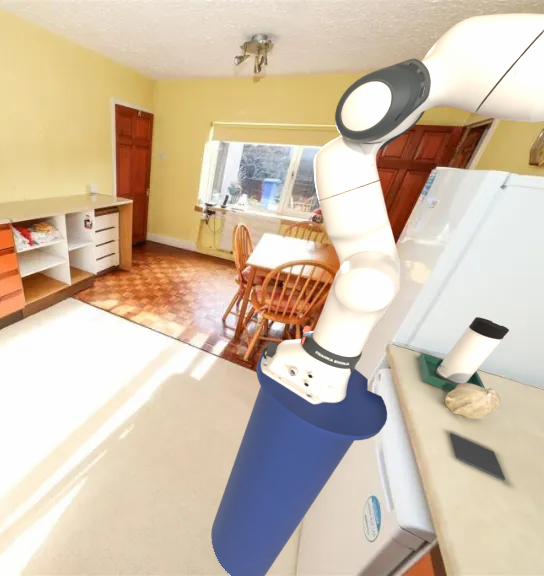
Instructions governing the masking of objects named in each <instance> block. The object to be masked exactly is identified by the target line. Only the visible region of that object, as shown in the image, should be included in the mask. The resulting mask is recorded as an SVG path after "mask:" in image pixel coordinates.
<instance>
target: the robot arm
mask: <svg viewBox="0 0 544 576" xmlns="http://www.w3.org/2000/svg"><path fill="white" fill-rule="evenodd" d="M439 107H440V108H442V107H443V108H444V107H446V108H451V109H452V108H453V109H457V110H461V111H464V112H468V113H472V114H474V115H475V114H476V115H478V116H483V117H486V118H491V119H495V120H496V119H497V120H502V121H511V122H523V123H539V122H544V13H531V12H530V13H529V12H515V13H513V12H512V13H511V12H510V13H509V12H508V13H493V14H492V13H491V14H483V15H482V14H481V15H473V16H470V17H467V18H465V19H463V20H461V21H459V22H457V23H456V24H454V25H453V26H452V27H450V28H449V29H448V30H447V31H446V32H444V33H443V34H442V35H441V36H440V37H439V38H438V39H437V40H436V41H435V43H433V45H432V46H431V48H430V49H429V50H428V52H427V53H426V54H425V56H424V57H423V59H422V60H419V58H418V59H417V58H410V59H407V60H403V61H401V62H398V63H395V64H392V65H389V66H385V67H382V68H379V69H377V70H373V71H371V72H369V73H367V74H365V75H363V76H361V77H360V78H358V79H357V80H355V81H354V82H352V84H351V85H350V86H349V87H347V89H346V90H345V91H344V92H343V94H342V95H341V97H340V99H339V101H338V103H337V105H336V108H335V113H334V123H335V128H336V129H337V131H338V133H339V134H340V135H338V136H337V137H336V138H334V139H332V140H330V141H329V142H327V143H326V144H324V145H323V146H322V147H321V148H320V149H319V150H318V151H317V152H316V154H315V157H314V159H313V173H314V184H315V191H316V195H317V199H318V203H319V207H320V211H321V215H322V220H323V223H324V227H325V231H326V233H327V234H326V235H327V236H328V238H329V239H330V242H331V243H332V245H333V248H334V250H335V252H336V253H335V254H336V255H337V259H338V261H339V269H338V270H337V272H336V274H335V276H334V278H333V281H332V283H331V285H330V289H329V291H328V294H327V297H326V299H325V302H324V305H323V308H322V310H321V313H320V315H319V318H318V320H317V323H316V325H315V327H314V329H312V327H311V326H310V325H305V326H304V327H303V329H302V333H303V334H302V337H301V338H297V339H285V340H283V341H281V342H280V343H279V344H278V343H276V342H272V341H269V342H268V345H267V346H266V347H264V348H263V349H262V353H261V354H263V358H262V360H261V370H262V372H263V373H264V374H266V375H267V376H269V377H270V378H272V379H274V380H275V381H277V382H278V383H280V384H282V385H283V386H285V387H286V388H288V389H289V390H291V391H293V392H294V393H296V394H297V395H299V396H300V397H302V398H304V399H305V400H307V401H308V402H310V403H312V404H319V403H322V402H329V403H335V402H340V401H342V400H343V399H344V398H345V397H346V390H347V384H348V380H349V377H350V374H351V372H353V370H354V369H356V368H357V366H358V365H359V363H360V361H361V358H362V355H363V354H362V353H363V350H364V347H365V346H366V344H367V343H368V340H369V338H370V337H371V334H372V333H373V331H374V330H375V328H376V326H377V325H378V323H379V322H380V321H381V320H382V318H383V316H384V315H385V313H386V312H387V311H388V309H389V307H390V306H391V304H392V303H393V301H394V299H395V298H396V297H397V294H398V293H399V291H400V288H401V267H402V266H401V260H400V256H399V253H398V249H397V244H396V242H395V237H394V234H393V233H394V232H393V230H392V225H391V223H390V219H389V215H388V211H387V206H386V203H385V197H384V193H383V188H382V184H381V180H380V176H379V172H378V171H379V170H378V166H377V154H378V152H379V150H382V149H384V148H386V147H387V146H388V145H390V144H391V143H392V142H394V141H396V140H397V139H398V138H400V137H401V136H403V135H404V134H406V133H408V132H409V131H410V130H411V129H412V128H413V127H414V126H415V125H416V124H417V123H418V122H419V121H420V120H421V118H423V116H424V114H425V111H427V110H430V109H433V108H439ZM277 345H278V346H277ZM266 350H267V352H266V353H265V351H266Z"/></svg>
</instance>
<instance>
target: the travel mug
mask: <svg viewBox="0 0 544 576" xmlns="http://www.w3.org/2000/svg"><path fill="white" fill-rule="evenodd" d="M509 332H510V329H509V328H508V327H506V326H504V325H500V324H498V323H495V322H493V321H492V320H490V319H487V318H483V317H479V316H476V317H475V318H474V319H473V320H472V322H471V323H470V324H469V325H468V327H467V328H466V329H465V330H464V332H463V333H462V335H461V336H460V338H459V339H458V340H457V342H456V343H455V344H454V345H453V346H452V348H451V349H450V351H449V352H448V353H447V355H446V356H445V358H444V359H442V360H443V362H442V363H441V364H440V366H439V367H438V368H437V370H436V374H437V376H438V377H440V378H441V379H442V380H444V381H447V382H450V383H452V384H455V385H458V384H462V383H466V382H467V381H468V380H469V379H470V377H471V376H472V375H473V374H474V373H475V371H478V369H479V368H480V367H481V366H482V364H483V363H484V362H485V361H486V360H487V358H488V357H489V356H490V355H491V354H492V352H493V351H494V350H495V349H496V348H497V346H499V344H500V343H501V342H502V341H503V339H504V337H505V336H507V334H508V333H509Z"/></svg>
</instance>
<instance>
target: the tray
mask: <svg viewBox="0 0 544 576" xmlns="http://www.w3.org/2000/svg"><path fill="white" fill-rule="evenodd" d="M443 360H444V359H442V358H439V357H437V356H434V355H430V354H427V353H425V352H421V353H420V354H419V356H418V357H417V361H418V365H419V369H420V374H421V378H422V381H423V382H424V383H427V384H429V385H432V386H434V387H437V388H440V389H442V390H444V391H447V392H450V391H452V390H454V389H455V387H456V386H457V385H455V384H452V383H450V382H447V381H444V380H442V379H441V378H440V377H438V376H437V374H436V370H437V368H438V367H439V366H440V364H441V363H442V362H443ZM466 383H470V384H475V385H477V386H480V387H482V388H485V389H486V387H485V385H484V383H483V381H482V379H481V377H480V375H479V373H478V370H476V371H475V373H474V374H473V375H472V376H471V377H470V379H469V380H468V381H467V382H466Z"/></svg>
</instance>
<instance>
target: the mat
mask: <svg viewBox="0 0 544 576" xmlns="http://www.w3.org/2000/svg"><path fill="white" fill-rule="evenodd" d="M449 436H450V438H451V439H450V440H451V444H452V446H453V450H454V454H455V457H456V459H457V460H459V461H461V462H463V463H465V464H467V465H470V466H472V467H473V468H476V469H478V470H479V471H482V472H485V473H487V474H489V475H490V476H493V477H495V478H497V479H500V480H502V481H506V478H505V475H504V473H503V470H502V468H501V465H500V463H499V460H498V458H497V456H496V454H495V452H494V450H491V449H489V448H487V447H483V446H482V445H480V444H477V443H475V442H473V441H470V440H468V439H466V438H464V437H461V436H459V435H458V434H457V435H456V434H454V433H453V432H451V433H449Z"/></svg>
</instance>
